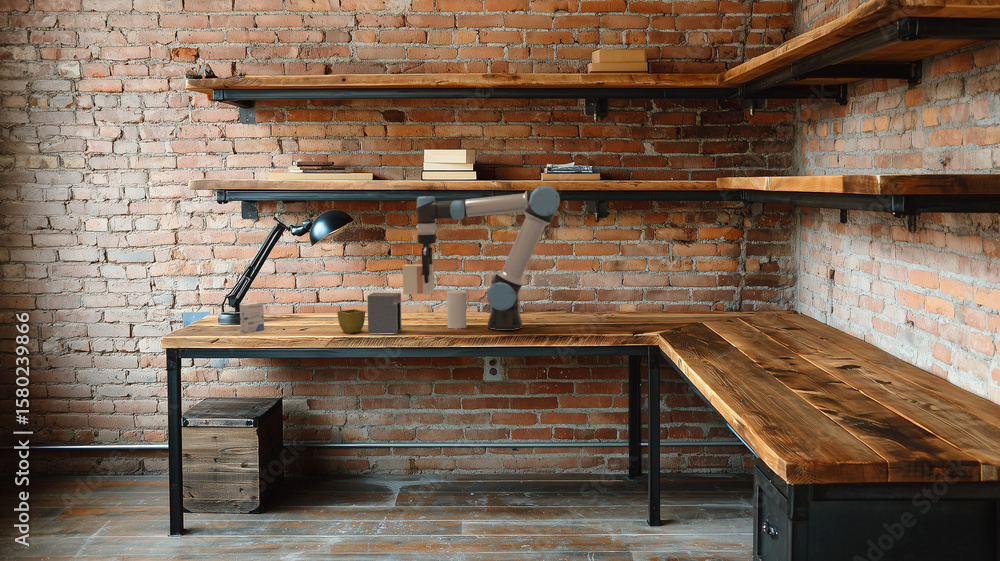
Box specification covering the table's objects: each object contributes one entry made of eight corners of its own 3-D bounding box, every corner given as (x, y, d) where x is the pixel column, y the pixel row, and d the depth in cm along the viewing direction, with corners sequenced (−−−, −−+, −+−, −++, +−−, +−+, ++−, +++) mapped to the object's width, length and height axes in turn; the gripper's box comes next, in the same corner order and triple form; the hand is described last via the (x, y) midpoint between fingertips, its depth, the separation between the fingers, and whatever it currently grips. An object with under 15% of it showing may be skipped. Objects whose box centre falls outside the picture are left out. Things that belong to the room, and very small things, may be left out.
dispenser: (401, 330, 314) (400, 292, 312) (396, 334, 304) (396, 296, 303) (373, 329, 315) (372, 292, 313) (368, 334, 305) (367, 295, 303)
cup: (449, 329, 315) (449, 292, 313) (445, 326, 323) (445, 290, 321) (468, 328, 317) (468, 292, 315) (463, 325, 325) (463, 289, 323)
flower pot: (336, 332, 310) (336, 311, 309) (354, 329, 316) (354, 308, 315) (348, 334, 303) (348, 313, 302) (366, 332, 309) (365, 311, 308)
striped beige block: (433, 292, 309) (433, 264, 308) (432, 294, 304) (431, 265, 303) (405, 292, 310) (404, 264, 308) (403, 294, 305) (402, 265, 303)
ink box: (258, 328, 318) (257, 301, 316) (264, 329, 315) (263, 302, 313) (240, 331, 311) (239, 303, 310) (246, 332, 308) (245, 304, 307)
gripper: (421, 232, 313) (422, 287, 316) (413, 235, 295) (415, 292, 298) (438, 232, 313) (439, 286, 315) (432, 234, 295) (433, 292, 297)
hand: (428, 289), depth 307 cm, fingers closed on striped beige block, 5 cm apart
